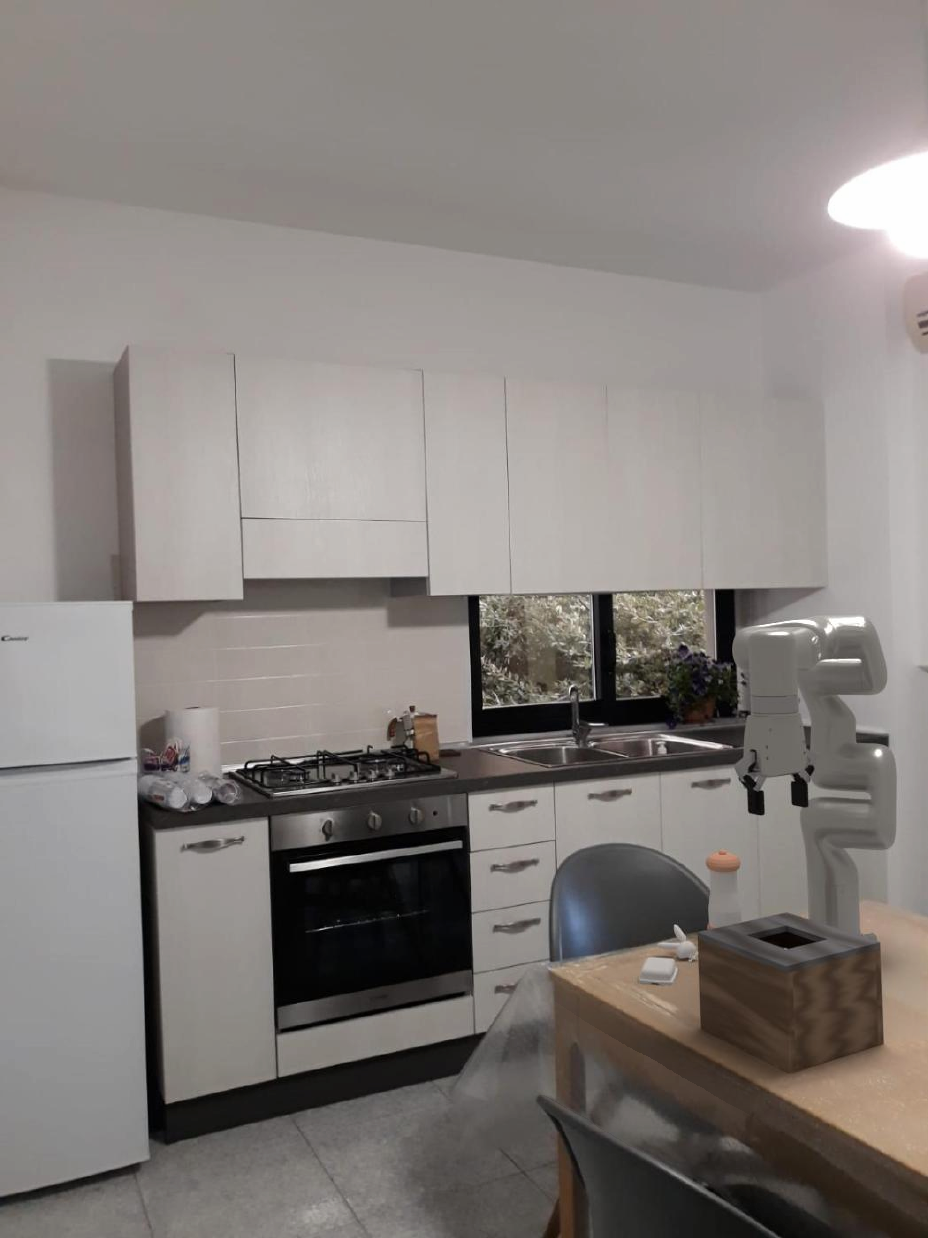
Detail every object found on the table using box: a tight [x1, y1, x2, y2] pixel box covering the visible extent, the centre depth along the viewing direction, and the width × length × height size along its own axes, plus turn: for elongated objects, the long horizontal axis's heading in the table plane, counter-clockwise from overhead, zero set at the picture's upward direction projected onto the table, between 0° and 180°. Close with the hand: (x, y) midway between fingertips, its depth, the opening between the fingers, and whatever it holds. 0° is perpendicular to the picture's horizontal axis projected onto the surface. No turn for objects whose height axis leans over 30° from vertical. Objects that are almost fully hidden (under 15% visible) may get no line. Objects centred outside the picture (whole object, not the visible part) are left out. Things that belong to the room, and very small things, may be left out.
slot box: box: [696, 912, 885, 1074], centre depth 170 cm, size 20×20×16 cm
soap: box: [638, 957, 679, 986], centre depth 200 cm, size 9×7×3 cm
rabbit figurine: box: [657, 924, 698, 963], centre depth 210 cm, size 6×4×8 cm
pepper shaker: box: [705, 849, 742, 930], centre depth 218 cm, size 7×7×19 cm
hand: (778, 810), depth 172 cm, fingers open, 9 cm apart
